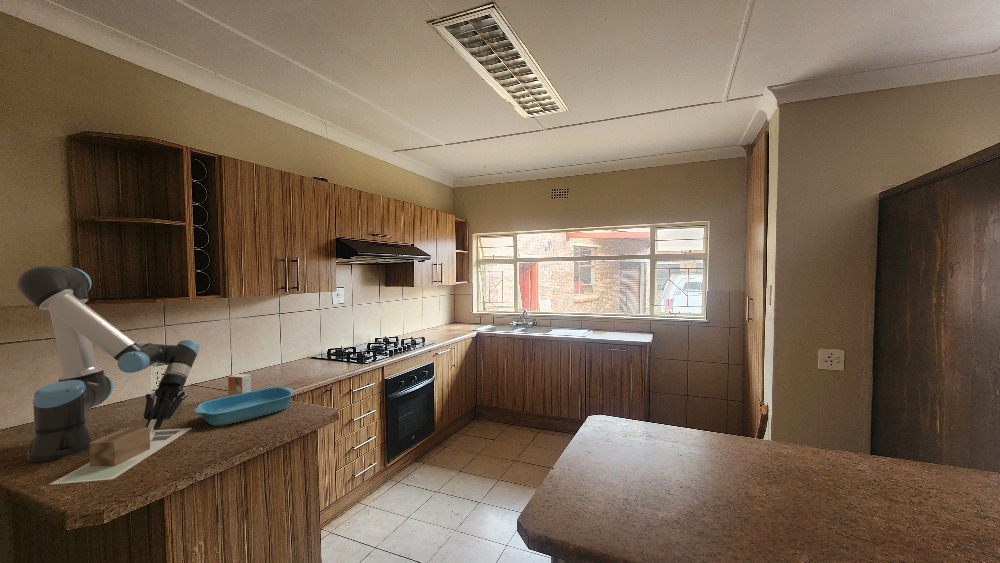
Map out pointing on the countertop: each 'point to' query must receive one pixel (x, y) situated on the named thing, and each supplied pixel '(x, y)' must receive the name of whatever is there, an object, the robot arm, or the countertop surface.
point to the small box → (239, 384)
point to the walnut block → (119, 446)
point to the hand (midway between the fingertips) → (147, 439)
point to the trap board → (112, 472)
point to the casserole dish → (244, 405)
